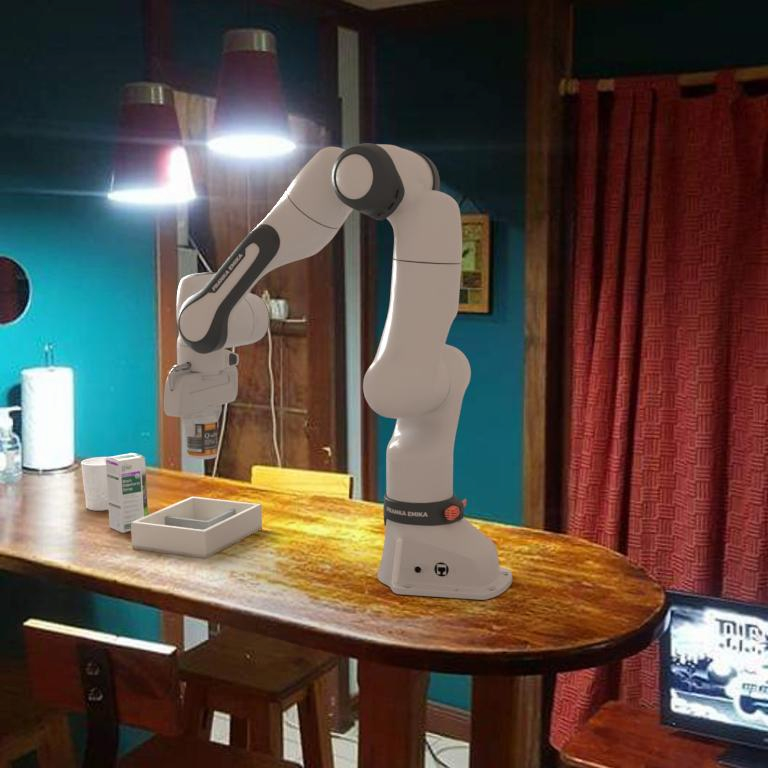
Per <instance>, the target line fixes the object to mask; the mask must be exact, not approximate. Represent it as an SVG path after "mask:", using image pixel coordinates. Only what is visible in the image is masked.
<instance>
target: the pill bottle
mask: <svg viewBox="0 0 768 768" xmlns="http://www.w3.org/2000/svg"><path fill="white" fill-rule="evenodd" d="M213 413H214V405H212V406H208V407H206V409H205V410H203V411H199V412H196V413H195V418H194V419H193V420H194V423H195V426H198V435H196V436H194V437H188V436H186V455H187V457H188V458H189V459H191V460H210V459H211V460H212V459H214V458H216V457H217V456H218V452H219V450H218V446H219V445H218V441H219V440H218V432H219V431H218V428H217V418H216V417H215V416H214V415H213Z"/></svg>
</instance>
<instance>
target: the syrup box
mask: <svg viewBox="0 0 768 768" xmlns="http://www.w3.org/2000/svg"><path fill="white" fill-rule="evenodd" d="M105 457H106V474H107V490H108V506H109V510H108V519H109V528H111V529H113V530H115V531H117V532H119V533H121V534H125V533H128V532H131V522H133V521H135V520H138V519H140V518H142V517H145V516H147V515H149V508H148V491H147V490H148V487H147V471H146V470H147V469H146V468H147V467H146V457H145V456H143V455H142V454H139V453H133V452H129V453H125V454H118V455H114V456H105Z"/></svg>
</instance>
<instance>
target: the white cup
mask: <svg viewBox="0 0 768 768" xmlns="http://www.w3.org/2000/svg"><path fill="white" fill-rule="evenodd" d="M106 457H107V456H99V457H98V456H97V457H90V458H86V459H83V460H82V461H81V463H80V464H81V472H82V473H81V474H82V485H83V493H84V497H85V507H86V509H87V510H90V511H96V512H99V511H109V506H108V490H107V474H106Z"/></svg>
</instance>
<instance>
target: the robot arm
mask: <svg viewBox="0 0 768 768" xmlns="http://www.w3.org/2000/svg"><path fill="white" fill-rule="evenodd" d="M440 181H441V179H440V175H439V171H438V169H437V166H436V165H435V163H434V162H433V161H432V160H431V159H430V157H427V156H426V155H425V154H423V153H421V152H419V151H416V150H412V149H406V148H402V147H400V146H397V145H394V144H381V143H379V144H378V143H376V144H375V143H371V142H370V143H369V142H366V143H359V144H355V145H353V146H349V147H348V148H347V149H344V148H342V147H337V146H327V147H324V148H322V149H320V150H319V151H318V152H317V153H316V154H315V155H314V156H313V157H311V158H310V160H309V161H308V162H307V163H306V164H305V165H304V166H303V168H302V169H301V170H300V171H299V172H298V174H297V175H296V176H295V177H294V178H293V180H292V181H291V183H290V184H289V186H288V187H287V189H286V190H285V191H284V193H283V195H282V196H281V197H280V199H279V200H278V201H277V202H276V204H275V205H274V207H273V208H272V209H271V210H270V211H269V213H268V214H267V215H266V216H265V217H264V219H262V220H261V221H260V223H258V224H257V225H256V226H255V227H254V228H253V230H251V231H250V232H249V234H247V236H245V238H244V239H243V240H242V241H241V242H240V243H239V244H238V245H237V247H236V248H235V249H234V250H233V252H232V253H231V254H230V255H229V256H228V258H227V259H226V260H225V261H224V263H223V264H222V265H221V266H220V268H219V269H218V270H217V271H215V272H214V271H206V272H197V273H192V274H188V275H185V276H184V277H182V278H181V280H180V282H179V284H178V287H177V293H176V307H175V308H176V323H177V326H178V327H177V328H178V337H177V339H176V340H177V341H176V360H177V361H176V362H177V364H175V365H173V366H172V367H171V369H170V371H169V372H168V375H167V378H166V380H165V383H164V385H165V386H164V392H163V393H164V396H163V411H164V413H165V415H166V416H167V417H174V418H175V417H176V418H180V419H181V421H182V423H183V426H184V427H185V436H186V437H187V436H188V437H194V436H196V435H198V426H195V423H194V420H193V419H194V418H195V413H196V412H199V411H203V410H205V409H206V407H208V406H212V405H214V413H213V415H214V416H215V417H216V418H217V429H219V420H220V416H221V414H222V410H223V407H222V405H225V404H229V403H232V402H235V401H236V398H237V396H238V390H239V389H238V387H239V373H238V372H239V371H238V368H237V366H238V365H239V362H240V358H239V357H240V356H239V354H238V353H237V352H233V351H231V350H230V348H236V347H240V346H247V345H252V344H255V343H256V342H260V341H261V340H262V339H264V337H265V336H266V335H267V333H268V331H269V328H270V324H271V323H270V320H271V319H270V318H271V317H270V311H269V309H268V306H267V303H265V301H264V299H263V298H262V297H261V296H260V295H258V294H255V293H251V292H250V291H252V289H253V288H254V286H255V285H256V284H257V283H258V281H259V282H260V280H261V279H262V278H263V277H264V276H265V275H266V274H268V273H269V272H272V271H273V270H275V269H277V268H279V267H282V266H285V265H287V264H290V263H293V262H297V261H301V260H303V259H307V258H310V257H312V256H315V255H316V254H318V253H319V252H320V251H322V250H323V249H324V247H326V246H327V245H329V243H330V242H331V240H333V238H334V237H335V236H336V235H337V234H338V232H339V230H340V229H341V228H342V226H343V225H344V223H345V222H346V220H347V219H348V217H349V216H350V214H351V213H352V211H357V212H359V213H360V214H361V213H362V214H364V215H366V216H368V217H370V218H373V219H375V220H377V221H383V220H385V219H386V220H387V221H388V222H389V224H390V225H391V226H392V227H391V228H392V229H393V239H394V240H393V255H392V269H391V281H390V283H391V284H390V297H389V306H388V311H387V317H386V320H385V324H384V327H383V330H382V335H381V337H380V341H379V345H378V348H377V351H376V353H375V357H374V359H373V361H372V363H371V364H370V365H369V367H368V368H367V371H366V372H365V374H364V378H363V382H362V390H363V394H364V398H365V401H366V403H367V404H368V406H369V408H370V409H371V410H372V411H374V412H375V413H376V414H378V415H379V416H381V417H384V418H387V419H388V418H389V419H396V422H395V427H394V429H393V433H392V436H391V438H390V440H389V442H388V444H387V447H386V452H385V455H386V456H385V459H386V460H385V461H386V462H385V463H386V465H385V466H386V467H385V468H386V469H385V471H386V472H385V473H386V474H385V475H386V476H385V478H386V480H385V482H386V483H385V484H386V488H385V489H386V492H385V494H384V495H383V506H382V507H383V510H382V511H383V513H382V514H383V524H384V527H385V529H384V531H385V532H384V542H383V549H382V553H381V560H380V564H379V569H378V571H377V575H376V576H377V580H379V582H380V583H382V584H384V585H385V586H387V587H390V589H391V591H392V592H393V593H394V594H396V595H406V596H420V597H423V596H424V597H436V598H437V597H438V598H448V599H449V598H450V599H463V600H464V599H466V600H482V601H485V600H489V599H493V598H495V597H497V596H500V595H502V594H503V593H504V592H506V590H508V588H510V586H511V585H512V583H513V573H512V571H511V570H510V569H509V568H505V567H502V566H500V562H499V555H498V551H497V547H496V545H495V543H494V541H493V540H492V539H491V538H489V537H488V536H487V535H485V534H484V533H483V532H482V531H480V530H479V529H478V528H477V527H476V526H474V524H472V523H471V522H470V521H469V520H468V519H466V518H465V517H464V515H465V507H466V506H467V499H466V498H464V499H463V500H462V501H461V500H460V499H459V498H458V497H457V496H456V495H455V493H454V451H455V449H454V448H455V441H456V434H457V430H458V426H459V425H458V424H459V420H460V415H461V409H462V404H463V399H464V396H465V393H466V390H467V388H468V387H469V384H470V382H471V377H472V376H471V375H472V371H471V366H470V365H471V364H470V362H469V360H468V358H467V357H466V355H465V354H464V352H463V351H461V350H460V349H459V348H457V347H455V346H454V345H450V344H447V343H446V342H447V338H448V335H449V332H450V329H451V326H452V324H453V321H454V320H455V319H456V317H457V314H458V311H459V303H460V290H461V289H460V288H461V276H462V260H463V257H462V256H463V235H462V234H463V232H462V231H463V230H462V229H463V228H462V218H461V210H460V207H459V204H458V202H457V201H456V199H454V198H453V197H452V196H451V195H449V194H447V193H445V192H442V191H440V184H441V182H440ZM228 349H229V350H228Z"/></svg>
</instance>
